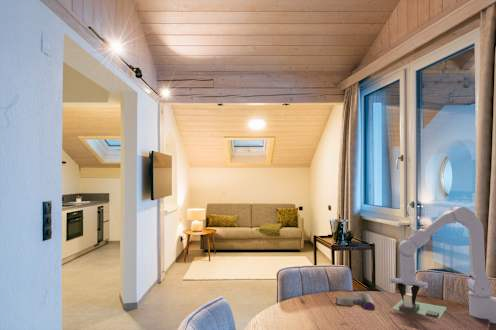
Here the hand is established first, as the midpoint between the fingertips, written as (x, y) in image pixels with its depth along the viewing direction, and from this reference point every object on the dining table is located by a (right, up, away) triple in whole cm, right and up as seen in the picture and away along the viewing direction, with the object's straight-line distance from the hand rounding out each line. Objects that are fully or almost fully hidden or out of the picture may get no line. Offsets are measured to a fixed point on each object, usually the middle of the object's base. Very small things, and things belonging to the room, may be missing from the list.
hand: (409, 303), depth 143 cm
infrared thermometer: (-21, -5, +6) cm, 22 cm away
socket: (0, -2, 0) cm, 2 cm away
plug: (0, -2, 0) cm, 2 cm away
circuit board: (+5, -4, +1) cm, 6 cm away
